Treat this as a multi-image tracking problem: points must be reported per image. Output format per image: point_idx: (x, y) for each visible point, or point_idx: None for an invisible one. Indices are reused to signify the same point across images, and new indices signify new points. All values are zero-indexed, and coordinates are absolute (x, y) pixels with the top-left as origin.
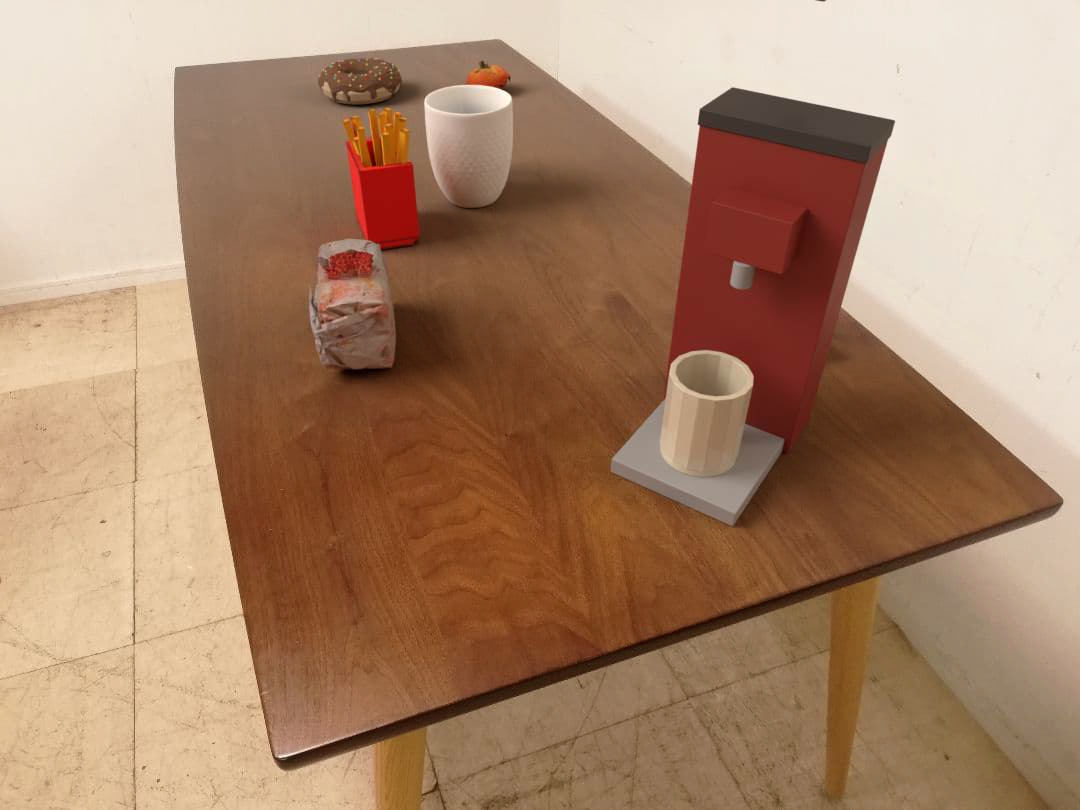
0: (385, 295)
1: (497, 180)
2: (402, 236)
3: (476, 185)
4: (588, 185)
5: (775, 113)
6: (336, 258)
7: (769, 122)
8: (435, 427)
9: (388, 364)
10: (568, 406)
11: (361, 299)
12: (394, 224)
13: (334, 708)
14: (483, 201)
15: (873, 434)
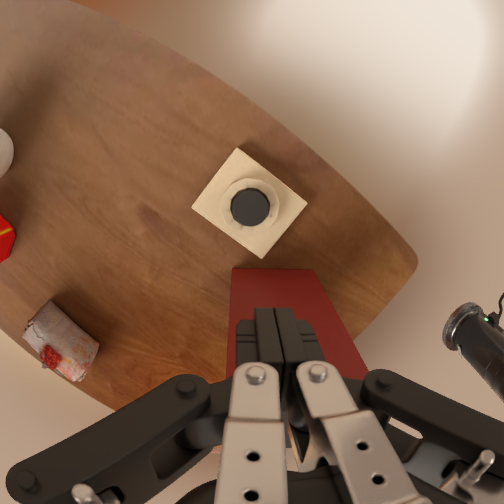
0: (78, 360)
1: (6, 156)
2: (10, 242)
3: (1, 173)
4: (49, 73)
5: (286, 434)
6: (45, 360)
7: (287, 447)
8: (148, 366)
9: (98, 346)
10: (188, 327)
11: (78, 374)
12: (3, 248)
13: (218, 447)
14: (10, 163)
15: (346, 261)
